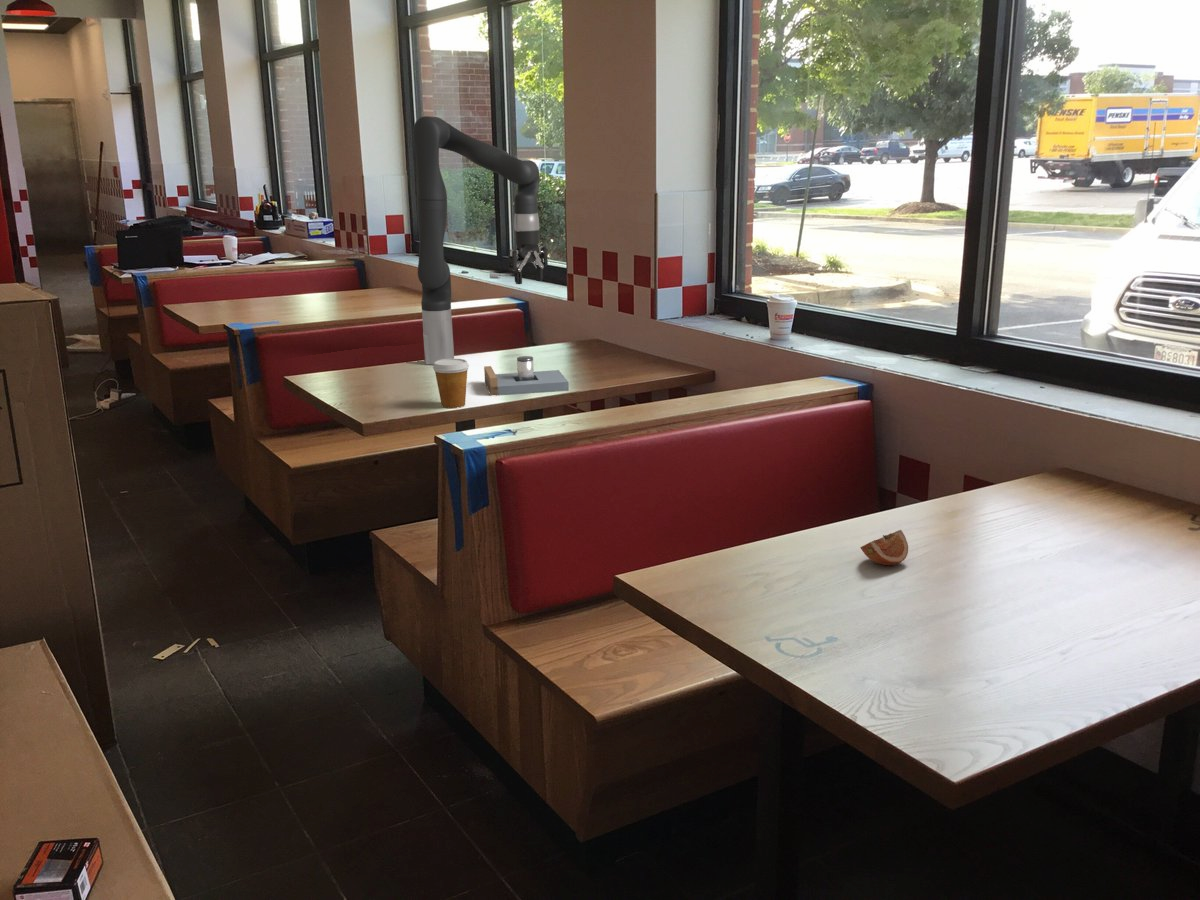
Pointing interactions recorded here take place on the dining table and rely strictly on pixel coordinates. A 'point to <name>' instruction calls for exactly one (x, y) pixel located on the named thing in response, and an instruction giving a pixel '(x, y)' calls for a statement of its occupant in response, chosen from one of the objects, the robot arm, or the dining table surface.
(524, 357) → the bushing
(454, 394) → the disposable coffee cup
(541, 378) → the jig
